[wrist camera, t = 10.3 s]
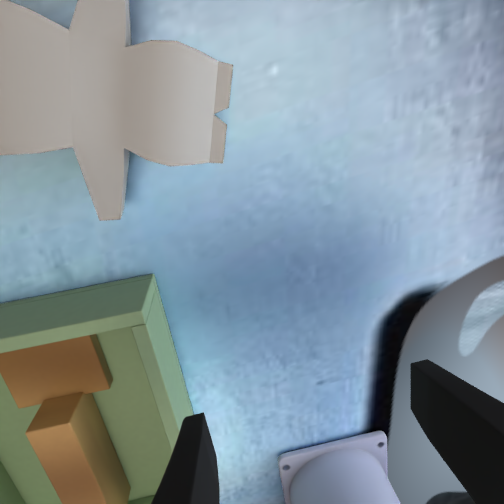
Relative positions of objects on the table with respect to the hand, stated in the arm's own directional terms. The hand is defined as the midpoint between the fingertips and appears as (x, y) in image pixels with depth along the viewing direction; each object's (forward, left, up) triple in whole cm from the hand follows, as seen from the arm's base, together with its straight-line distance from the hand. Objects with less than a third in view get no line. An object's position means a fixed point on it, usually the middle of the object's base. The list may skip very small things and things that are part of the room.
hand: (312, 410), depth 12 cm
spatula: (-6, +12, -8) cm, 16 cm away
